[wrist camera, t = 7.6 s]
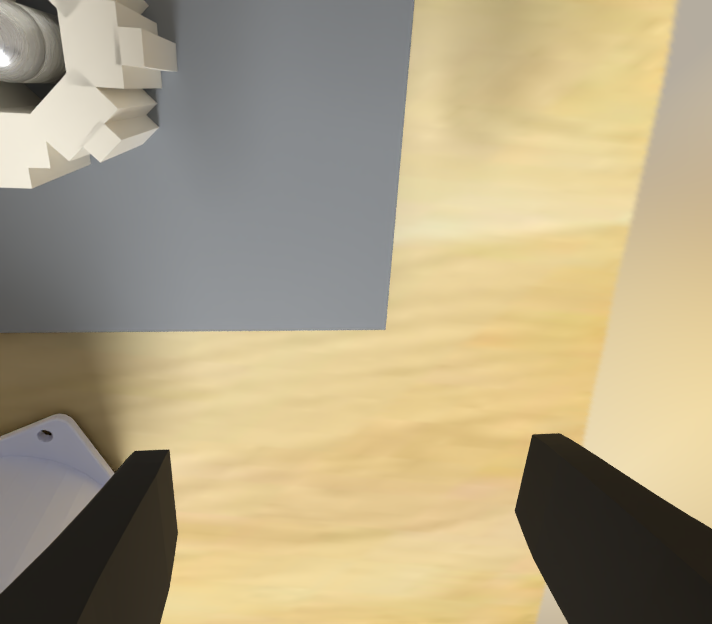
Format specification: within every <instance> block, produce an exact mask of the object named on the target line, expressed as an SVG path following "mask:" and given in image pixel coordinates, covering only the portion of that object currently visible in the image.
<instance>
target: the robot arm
mask: <svg viewBox="0 0 712 624" xmlns="http://www.w3.org/2000/svg"><path fill="white" fill-rule="evenodd" d="M42 430H47V431H50V432H51V433H52V435H46V434H45V433H43V432H42ZM515 513H516V516H517V518H518V521H519V524H520V526H521V529H522V532H523V534H524V537H525V540H526V542H527V544H528V547H529V549H530V552H531V554H532V557H533V559H534V561H535V563H536V565H537V567H538V568H539V570H540V572H541V574H542V576H543V578H544V580H545V582H546V583H547V585H548V587H549V589H550V591H551V593H552V594H553V596H554V598H555V600H556V602H557V604H558V606H559V607H560V609H561V611H562V613H563V615H564V616H565V618H566V620H567V622H568V624H712V529H711V528H710V527H708V526H706V525H705V524H703V523H701V522H700V521H698V520H696V519H695V518H693V517H691V516H689V515H688V514H686V513H685V512H683V511H681V510H680V509H678V508H676V507H675V506H673V505H672V504H670V503H668V502H667V501H665V500H664V499H662V498H660V497H659V496H657V495H656V494H654V493H653V492H651V491H650V490H648V489H647V488H645V487H643V486H642V485H640V484H639V483H637V482H636V481H634V480H633V479H631V478H630V477H628V476H626V475H625V474H623V473H622V472H620V471H619V470H617V469H616V468H614V467H613V466H611V465H610V464H608V463H607V462H605V461H604V460H602V459H600V458H599V457H598V456H596V455H594V454H593V453H591V452H590V451H588V450H587V449H585V448H584V447H582V446H580V445H579V444H577V443H576V442H574V441H572V440H571V439H569V438H567V437H565V436H564V435H562V434H560V433H558V434H534V435H532V438H531V443H530V447H529V451H528V456H527V460H526V464H525V469H524V473H523V477H522V482H521V486H520V490H519V495H518V499H517V503H516V508H515ZM177 535H178V530H177V520H176V510H175V501H174V491H173V481H172V471H171V461H170V451H169V450H148V451H134V452H133V453H132V454H131V455H130V456H129V457H128V458H127V459H126V461H125V462H124V463H123V464H122V465H121V466H120V468H119V469H118V470H117V471H116V472H115V473H114V472H113V470H112V469H111V468H110V467H109V465H108V464H107V463H106V461H105V460H104V459H103V457H102V456H101V455H100V454H99V452H98V451H97V450H96V448H95V447H94V446H93V444H92V443H91V442H90V440H89V439H88V438H87V437H86V435H85V434H84V433H83V431H82V430H81V429H80V427H79V426H78V425H77V424H76V422H75V421H74V420H73V419H72V418H71V417H70V416H67V415H65V414H55V415H52V416H49V417H47V418H44V419H42V420H39V421H37V422H34V423H32V424H30V425H27V426H25V427H22V428H20V429H17V430H15V431H12V432H10V433H7V434H5V435H3V436H0V624H160V622H161V618H162V614H163V611H164V607H165V603H166V599H167V595H168V591H169V587H170V581H171V575H172V569H173V562H174V556H175V549H176V542H177Z"/></svg>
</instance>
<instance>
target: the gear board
mask: <svg viewBox="0 0 712 624" xmlns="http://www.w3.org/2000/svg"><path fill="white" fill-rule="evenodd" d="M144 1H145V2H146V3H147V4H148V5H149V6H148V7H147V8H146V9H145V11H144V12H143V13H142V14H141V15H142V16H144V17H146V18H148V19H150V20H151V21H153V22H155V23H157V31H158V36H160V37H162V38H164V39H166V40H169V41H171V42H173V43H176V56H177V71H178V72H173V71H161V81H162V88H145V89H143V90H144V91H145V92H146V93H147V94H148V95H149V96H150V97H151V98H152V99H153V100H154V101H155V102H156V103H157V104H156V105H155V106H154V107H153V108H152V109H151V110H150V112H149V113H148V114H147V116H148V117H149V118H150V119H151V120H152V121H153V122H154V123H155V124H156V125H157V126H158V127H159V128H158V129H157V130H156V131H155V132H154V133H153V134H152V135H151V136H150V137H149V138H148V139H147V140H146V141H145V143H144V144H143V145H140V146H138V147H136V148H133V149H131V150H129V151H126V152H124V153H122V154H119V155H117V156H115V157H112V158H110V159H108V160H105V161H103V162H101V163H100V162H99V161H98V160H97V159H96V158H95V157H93V156H92V155H91V154H90V161H91V164H90V165H88V166H85V167H83V168H80V169H78V170H76V171H73V172H71V173H68V174H66V175H64V176H61V177H59V178H56V179H54V180H51V181H49V182H47V183H44V184H42V185H39V186H37V187H35V188H32V189H29V188H0V333H44V332H169V331H293V330H385V329H386V318H387V306H388V295H389V284H390V272H391V261H392V250H393V238H394V227H395V216H396V204H397V193H398V182H399V170H400V159H401V148H402V136H403V125H404V114H405V102H406V91H407V80H408V68H409V57H410V46H411V34H412V23H413V12H414V0H144ZM15 2H16V3H19V4H22V5H25V6H28V7H31V8H34V9H37V10H40V11H43V12H46V13H49V14H52V15H55V16H58V12H57V8H56V7H55V6H54V5H53V4H52V3H51V2H50V1H49V0H16V1H15ZM24 84H25V85H26V86H27V87H28V88H29V89H30V90H31V91H32V92H34V93H35V94H36V95H37V96H38V97H39V98H40V99H41V100H43V99H44V98H45V97H46V96H47V95H48V93H49V92H50V91H51V90H52V89H53V88H54V87H55V86H56V84H49V83H24Z"/></svg>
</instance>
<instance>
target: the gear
mask: <svg viewBox="0 0 712 624" xmlns="http://www.w3.org/2000/svg"><path fill="white" fill-rule="evenodd" d="M9 1H12V2H15V1H16V0H9ZM49 1H50V2H51V3H52V4H53V5H54V6H55V7H56V8H57V12H58V19H59V26H60V33H61V40H62V47H63V54H64V61H65V68H66V74H65V75H64V77H63V78H62V79H61V80H60V81H59V82H58V83H57V84H56V86H55V87H54V88H53V89H52V90H51V91H50V92H49V93H48V95H47V96H46V97H45V98H44V99H43V100H41V99H40V98H39V97H38V96H37V95H36V94H35V93H34V92H32V91H31V90H30V89H29V88H28V87H27V86H26V85H25V84H24V83H9V82H4V81H0V188H29V189H32V188H35V187H37V186H39V185H42V184H44V183H47V182H49V181H51V180H54V179H56V178H59V177H61V176H64V175H66V174H68V173H71V172H73V171H76V170H78V169H80V168H83V167H85V166H88V165H90V164H91V161H90V154H91V155H92V156H93V157H95V158H96V159H97V160H98V161H99V162H100V163H101V162H103V161H105V160H108V159H110V158H112V157H115V156H117V155H119V154H122V153H124V152H126V151H129V150H131V149H133V148H136V147H138V146H140V145H143V144H144V143H145V141H146V140H147V139H148V138H149V137H150V136H151V135H152V134H153V133H154V132H155V131H156V130H157V129H158V128H159V127H158V126H157V125H156V124H155V123H154V122H153V121H152V120H151V119H150V118H149V117H148V116H147V114H148V113H149V112H150V110H151V109H152V108H153V107H154V106H155V105H156V104H157V103H156V102H155V101H154V100H153V99H152V98H151V97H150V96H149V95H148V94H147V93H146V92H145V91H144V90H143V89H145V88H162V81H161V71H173V72H178V71H177V56H176V43H173V42H171V41H169V40H166V39H164V38H162V37H160V36H158V31H157V23H155V22H153V21H151V20H150V19H148V18H146V17H144V16H142V15H141V14H142V13H143V12H144V11H145V9H146V8H147V7H148V6H149V5H148V4H147V3H146V2H145V1H144V0H49Z"/></svg>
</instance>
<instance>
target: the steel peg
mask: <svg viewBox="0 0 712 624" xmlns="http://www.w3.org/2000/svg"><path fill="white" fill-rule="evenodd" d="M65 74H66V68H65V61H64V54H63V47H62V40H61V33H60V26H59V19H58V16H55V15H52V14H49V13H46V12H43V11H40V10H37V9H34V8H31V7H28V6H25V5H22V4H19V3H16V2H12V1H9V0H0V81H4V82H9V83H49V84H57V83H58V82H59V81H60V80H61V79H62V78H63V77H64V75H65Z"/></svg>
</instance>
